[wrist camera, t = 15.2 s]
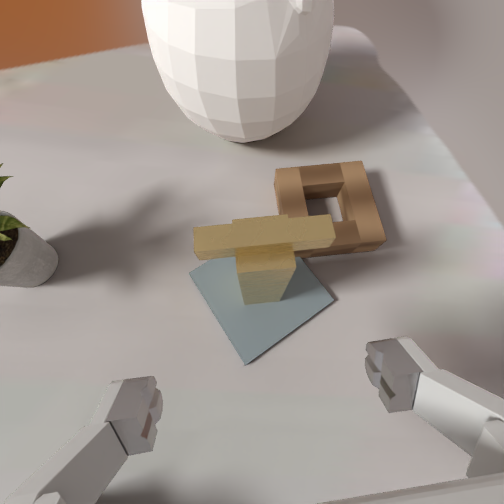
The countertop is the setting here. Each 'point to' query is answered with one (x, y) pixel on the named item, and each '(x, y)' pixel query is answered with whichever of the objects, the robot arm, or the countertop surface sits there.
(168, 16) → the white vase
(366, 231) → the socket block
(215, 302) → the slate mat
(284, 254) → the t key
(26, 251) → the house plant
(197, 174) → the countertop surface
